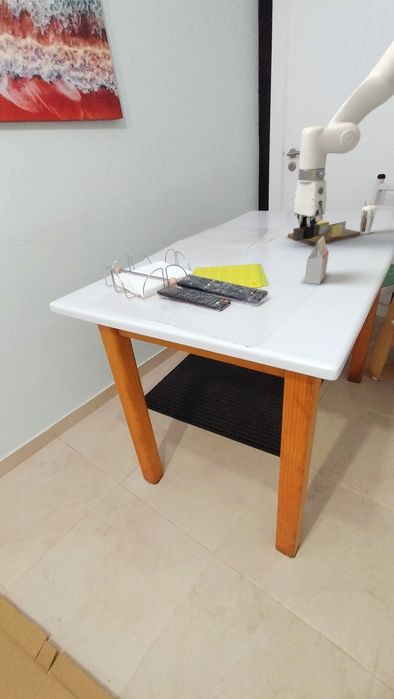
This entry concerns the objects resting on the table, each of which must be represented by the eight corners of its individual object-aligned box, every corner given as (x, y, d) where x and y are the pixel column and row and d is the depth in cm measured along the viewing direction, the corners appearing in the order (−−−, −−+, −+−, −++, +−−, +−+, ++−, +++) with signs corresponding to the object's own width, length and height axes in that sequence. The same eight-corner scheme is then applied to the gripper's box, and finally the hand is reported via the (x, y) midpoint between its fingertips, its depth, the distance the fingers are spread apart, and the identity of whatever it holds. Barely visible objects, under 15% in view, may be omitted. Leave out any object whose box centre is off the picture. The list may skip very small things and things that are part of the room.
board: (331, 228, 128) (331, 225, 127) (359, 235, 117) (360, 232, 116) (287, 237, 122) (287, 233, 121) (313, 245, 111) (314, 242, 110)
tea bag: (304, 282, 85) (309, 242, 80) (311, 273, 90) (315, 235, 85) (319, 284, 83) (325, 243, 78) (325, 275, 88) (331, 236, 83)
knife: (296, 241, 109) (297, 229, 107) (292, 239, 110) (293, 228, 108) (346, 229, 115) (348, 218, 113) (342, 228, 116) (344, 217, 114)
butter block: (316, 229, 124) (317, 219, 122) (327, 232, 119) (329, 221, 117) (307, 230, 123) (308, 220, 121) (318, 234, 118) (320, 223, 116)
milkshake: (365, 230, 122) (371, 200, 117) (374, 233, 118) (380, 203, 112) (353, 231, 122) (359, 202, 116) (362, 235, 117) (368, 204, 112)
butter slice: (337, 234, 115) (339, 224, 114) (340, 235, 114) (342, 224, 112) (328, 236, 114) (330, 226, 112) (331, 237, 113) (333, 226, 111)
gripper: (340, 175, 96) (332, 240, 106) (304, 172, 108) (299, 231, 118) (319, 178, 93) (313, 245, 103) (284, 175, 106) (281, 235, 116)
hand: (306, 237), depth 111 cm, fingers closed on knife, 2 cm apart
